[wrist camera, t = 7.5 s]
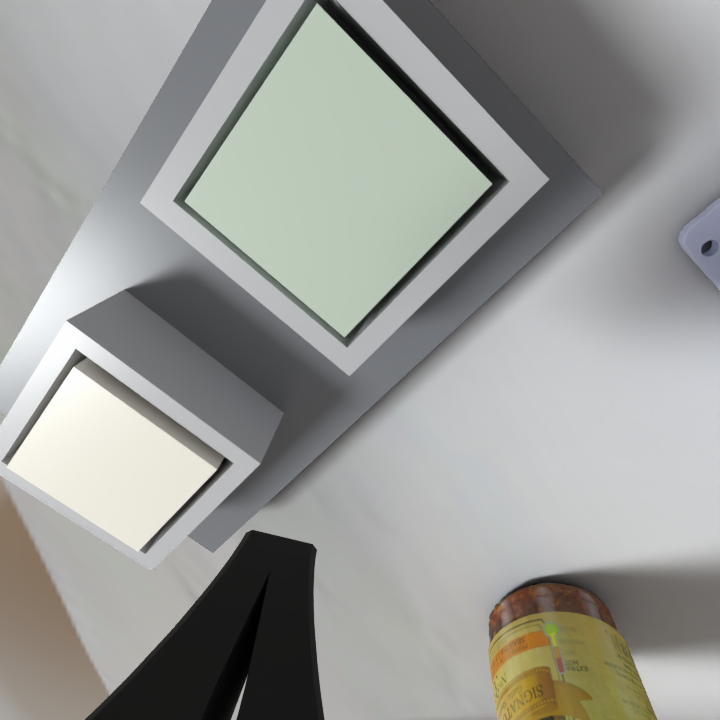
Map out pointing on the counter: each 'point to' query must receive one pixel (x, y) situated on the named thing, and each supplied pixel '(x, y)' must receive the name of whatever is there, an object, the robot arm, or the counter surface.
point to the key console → (254, 284)
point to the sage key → (335, 177)
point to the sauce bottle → (561, 659)
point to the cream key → (113, 456)
